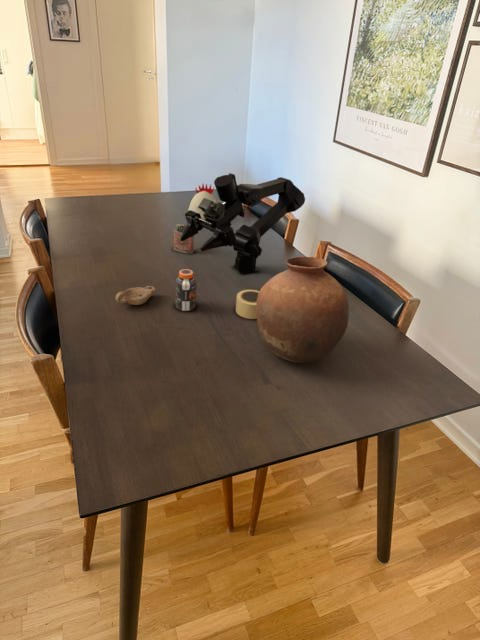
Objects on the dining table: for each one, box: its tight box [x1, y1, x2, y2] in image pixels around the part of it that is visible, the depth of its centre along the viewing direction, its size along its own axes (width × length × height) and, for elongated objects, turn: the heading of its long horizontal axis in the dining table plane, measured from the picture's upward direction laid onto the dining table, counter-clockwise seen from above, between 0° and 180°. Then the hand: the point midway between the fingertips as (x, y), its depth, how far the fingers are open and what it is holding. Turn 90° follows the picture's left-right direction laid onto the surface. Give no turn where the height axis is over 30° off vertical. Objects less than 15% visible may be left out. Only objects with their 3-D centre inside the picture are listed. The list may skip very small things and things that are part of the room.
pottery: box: [256, 256, 350, 364], centre depth 111 cm, size 23×23×25 cm
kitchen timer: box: [187, 183, 218, 220], centre depth 195 cm, size 14×14×15 cm
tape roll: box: [235, 289, 260, 320], centre depth 131 cm, size 9×9×5 cm
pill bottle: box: [175, 268, 197, 312], centre depth 129 cm, size 6×6×11 cm
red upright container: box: [173, 223, 195, 255], centre depth 163 cm, size 8×3×10 cm, turn 68°
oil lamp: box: [115, 285, 156, 306], centre depth 130 cm, size 13×8×5 cm, turn 134°
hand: (190, 244), depth 132 cm, fingers open, 9 cm apart
